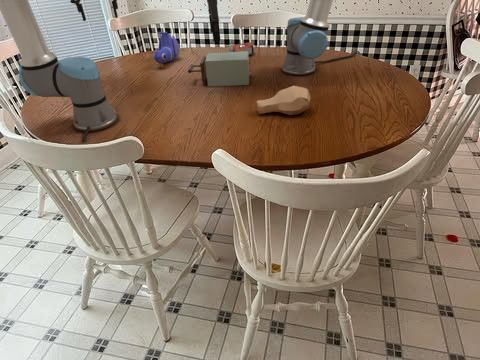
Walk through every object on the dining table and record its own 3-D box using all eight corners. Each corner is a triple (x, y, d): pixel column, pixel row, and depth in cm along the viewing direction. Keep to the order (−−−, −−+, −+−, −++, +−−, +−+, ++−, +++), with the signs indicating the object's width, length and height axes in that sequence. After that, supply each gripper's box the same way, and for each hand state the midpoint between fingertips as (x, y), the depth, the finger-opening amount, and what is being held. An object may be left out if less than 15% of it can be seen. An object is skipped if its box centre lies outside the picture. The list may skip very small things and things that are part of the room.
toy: (167, 63, 198) (147, 69, 175) (163, 31, 191) (141, 33, 169) (184, 63, 195) (166, 69, 173) (180, 30, 189) (161, 32, 166)
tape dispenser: (245, 68, 177) (264, 54, 190) (245, 58, 174) (264, 44, 186) (216, 62, 185) (237, 49, 197) (215, 52, 181) (236, 39, 194)
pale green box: (207, 86, 157) (205, 61, 150) (210, 77, 166) (208, 53, 159) (248, 85, 156) (247, 59, 149) (249, 75, 165) (248, 51, 158)
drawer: (189, 84, 157) (186, 63, 152) (192, 76, 165) (189, 56, 160) (240, 82, 156) (239, 61, 150) (241, 74, 164) (240, 54, 158)
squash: (314, 116, 128) (313, 95, 122) (259, 125, 130) (256, 105, 124) (308, 99, 136) (307, 78, 129) (257, 108, 138) (253, 88, 131)
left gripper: (118, -41, 148) (130, 14, 161) (55, -36, 145) (72, 19, 157) (116, -40, 142) (129, 17, 155) (51, -35, 139) (69, 23, 151)
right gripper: (197, -28, 138) (204, 29, 150) (200, -20, 118) (208, 45, 130) (216, -30, 138) (221, 27, 151) (223, -22, 118) (228, 43, 131)
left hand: (100, 19), depth 156 cm, fingers open, 13 cm apart
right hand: (215, 36), depth 140 cm, fingers open, 13 cm apart
